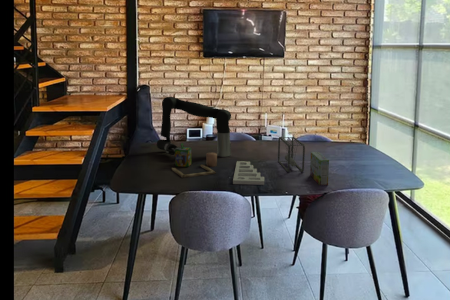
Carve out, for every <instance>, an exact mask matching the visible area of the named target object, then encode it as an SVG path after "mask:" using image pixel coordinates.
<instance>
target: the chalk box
mask: <svg viewBox="0 0 450 300" xmlns="http://www.w3.org/2000/svg"><path fill="white" fill-rule="evenodd" d="M174 162H175V164H174V165H175V168H176V167H180V168H182V167H183V168H186V167H187V168H189V167H190V166H191V165H192V147H185V146H184V143H183V142H182V143H181V144H180V147H179V146H177V149H175V155H174Z"/></svg>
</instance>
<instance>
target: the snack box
mask: <svg viewBox="0 0 450 300" xmlns="http://www.w3.org/2000/svg"><path fill="white" fill-rule="evenodd" d="M309 163H310V165H309V166H310V171H309V172H310V173H309V174H310V176H311V178H313V180H314V181H315V182H316V183H317V184H318V186H328V185H329V168H330V160H329V159H328V158H327V157H325V156H324V154H322V153H321V152H319V151H310V162H309Z"/></svg>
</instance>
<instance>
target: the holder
mask: <svg viewBox="0 0 450 300" xmlns="http://www.w3.org/2000/svg"><path fill="white" fill-rule="evenodd" d="M232 184H233V185H254V186H255V185H260V186H264V185H265V176H261V172H258V168H254V165H253V164H251V161H243V160H241V161H240V160H237V161H236V164H235V169H234V174H233V179H232Z"/></svg>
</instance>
